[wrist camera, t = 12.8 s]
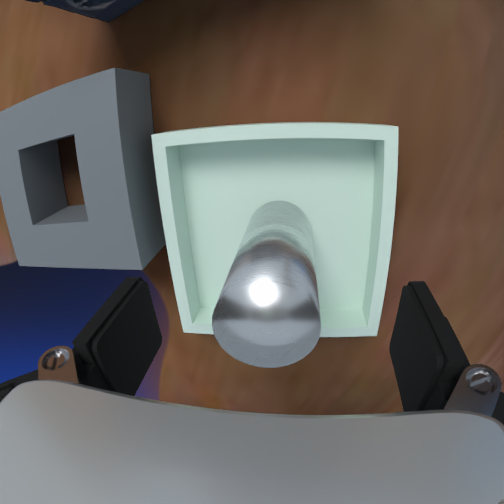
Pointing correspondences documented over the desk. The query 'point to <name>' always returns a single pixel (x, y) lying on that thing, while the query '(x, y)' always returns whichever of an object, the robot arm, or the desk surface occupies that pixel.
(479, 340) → the desk surface
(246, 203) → the tray
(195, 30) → the desk surface
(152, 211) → the pin holder
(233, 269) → the steel pin
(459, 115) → the desk surface
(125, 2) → the vhs cassette tape
